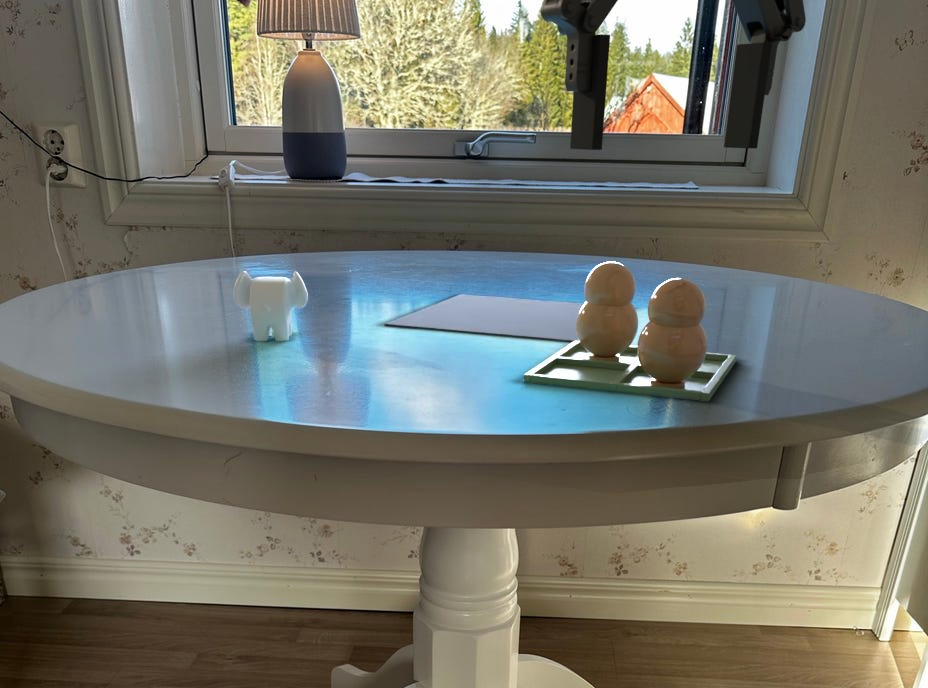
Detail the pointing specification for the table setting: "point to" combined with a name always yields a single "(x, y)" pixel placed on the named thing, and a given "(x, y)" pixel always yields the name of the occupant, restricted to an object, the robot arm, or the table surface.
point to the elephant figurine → (270, 303)
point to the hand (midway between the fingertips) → (665, 149)
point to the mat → (498, 317)
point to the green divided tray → (626, 374)
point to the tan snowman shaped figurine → (673, 334)
